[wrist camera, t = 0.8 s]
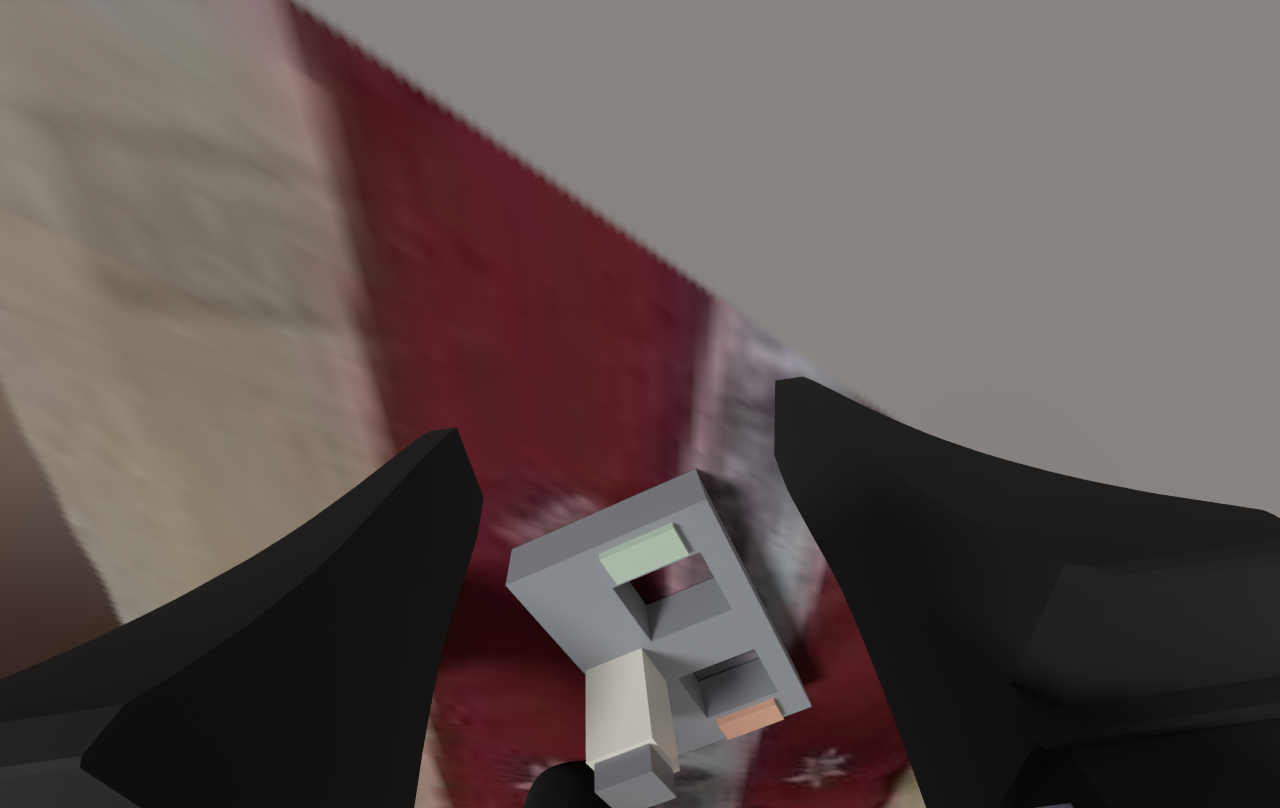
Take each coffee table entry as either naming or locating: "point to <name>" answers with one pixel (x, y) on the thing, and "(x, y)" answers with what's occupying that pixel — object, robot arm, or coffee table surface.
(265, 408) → the coffee table surface
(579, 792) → the mug
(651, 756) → the plug
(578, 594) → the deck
